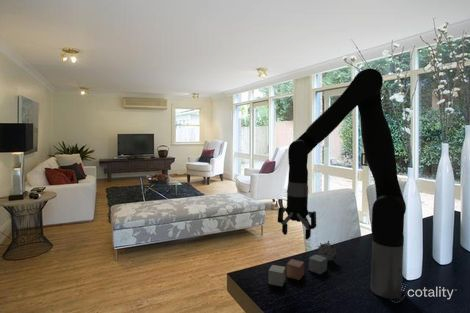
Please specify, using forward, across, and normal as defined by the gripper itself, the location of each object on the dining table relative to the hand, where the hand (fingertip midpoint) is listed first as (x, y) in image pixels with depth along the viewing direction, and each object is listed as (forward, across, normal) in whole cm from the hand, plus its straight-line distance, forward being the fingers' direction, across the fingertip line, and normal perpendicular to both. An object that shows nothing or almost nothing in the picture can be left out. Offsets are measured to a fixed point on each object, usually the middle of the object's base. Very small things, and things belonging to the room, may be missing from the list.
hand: (295, 236), depth 110 cm
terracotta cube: (+15, 0, 0) cm, 15 cm away
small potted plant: (+15, -7, -19) cm, 25 cm away
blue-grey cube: (+15, -6, -9) cm, 18 cm away
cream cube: (+15, +3, +9) cm, 18 cm away
